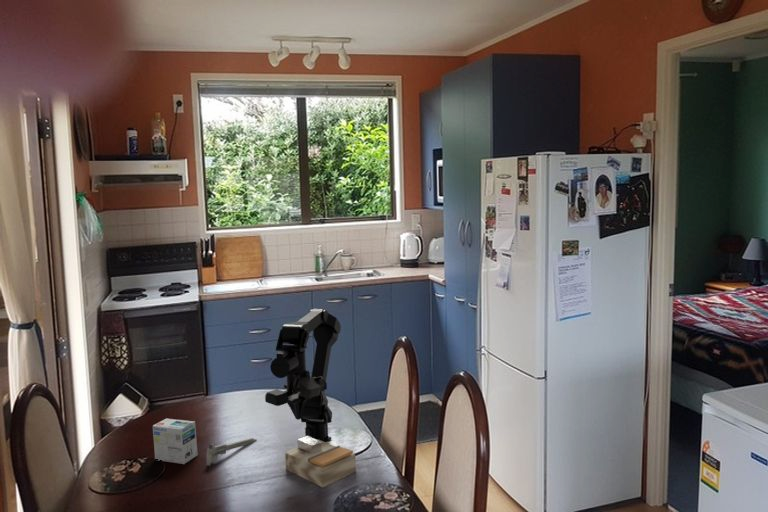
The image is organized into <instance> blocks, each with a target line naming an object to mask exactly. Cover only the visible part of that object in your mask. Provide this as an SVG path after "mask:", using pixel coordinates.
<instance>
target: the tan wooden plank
mask: <svg viewBox="0 0 768 512" xmlns="http://www.w3.org/2000/svg"><path fill="white" fill-rule="evenodd" d="M352 453H353V454H354V450H352V449H348V448H347V447H341V445H337V446H336V447H334V448H332V449H329V450H327V451H325V452H322V453H320V454H318V455H315V456H313V457H310V458H308V462H310V463H313V464H316V465H319V466H322V467H323V466H325V465H327V464H329V463H332V462H334V461H336V460H339V459H341V458H343V457H345V456H348V455H350V454H352Z"/></svg>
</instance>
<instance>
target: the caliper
mask: <svg viewBox="0 0 768 512" xmlns="http://www.w3.org/2000/svg"><path fill="white" fill-rule="evenodd" d="M254 442H257V438H256V439H255V438H254V437H253V438H252V437H250V438H246V439H243V440H242V439H241V440H238V441H234V442H231V443H228V444H226V443H222V444H219V445H216V444H215V443H211V444H210V443H209V444H208V448H207V449H206V454H205V456H206V466H209V467H211V464H212V465H215V464H216V462H217V459H218V456H219V455H225V454H226V453H227V451H230V450H233V449H238V448H241V447H245V446H248V445H252V443H254Z"/></svg>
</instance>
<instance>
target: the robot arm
mask: <svg viewBox="0 0 768 512" xmlns="http://www.w3.org/2000/svg"><path fill="white" fill-rule="evenodd" d="M341 328H342V326H341V323H340V321H339V319H338V318H337V317H336V316H334V315H332V314H331V313H329V312H328V310H327V309H324V308H312V309H310V311H309V312H307V314H306V315H303V317H301V318H300V319H299V320H297V321H293V322H287V323H285V324H283V325H282V326H281V329H280V330H279V334H278V338H277V343H276V346H275V351H277V352H276V355H275V356H276V357H275V358H273V360H271V363H270V366H269V367H270V371H271V373H272V375H273V376H274V377H276V378H278V379H284V378H285V379H286V381H285V382H286V383H285V384H283V389H286V390H281V389H279V388H278V389H277V388H276V389H273V390H270V391H267V392H266V394H265V396H264V399H265V403H268V404H271V405H272V406H276V407H281V406H282V405H285V404H287V405H288V407H289V408H290V411H291V413H292V414H293V416H294V418H295V419H296V420H300V421H301V423H305V429H304V431H305V432H304V433H305V434H304V435H305V436H304V437H306V436H309V437H312V438H314V439H316V440H317V439H319V440H321V441H324V442H326V443H327V442H329V441H330V440H332V437H331V436H329V424H331V423H332V422H333V421H332V419H333V412H332V409H330V407H329V406H328V404H329V401H328V398H327V395H326V393H325V390H328V383H327V376H328V370H329V364H330V363H329V362H330V359H331V350H332V347H333V345H334V344H336V342H337V341H338V339H339V334H341V333H340V332H341ZM311 332H312V336H313V338H314V341H315V343H316V345H315V352H314V359H313V364H312V371H311V373H310V372H309V371H310V370H308V369H307V364H306V349H307V348H308V346H307V343H308V341H309V339H310V333H311ZM310 374H311V375H310Z"/></svg>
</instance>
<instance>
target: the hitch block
mask: <svg viewBox="0 0 768 512" xmlns="http://www.w3.org/2000/svg"><path fill="white" fill-rule="evenodd" d="M317 440H319V439H317ZM319 441H321V440H319ZM321 442H322V450H321V451H319V452H316V453H314V454H310V453H306V452H305V451H304V450H301V449H299V448H298V446H297V447H294V448H293V449H290V450H288V451H286V452H284V453H285V455H284V457H285V459H284V460H285V470H287V471H288V472H291V473H292V474H294V475H297V476H299V477H300V478H303V479H305V480H307V481H309V482H311V483H313V484H315V485H317V486H319V487H321V488H324V487H326V486H328V485H331V484H333V483H336V482H337V481H340V480H342V479H344V478H345V477H348V476H349V475H352V474H354V473H356V469H357V468H356V467H357V466H356V465H357V464H356V454H355V453H354V452H353V453H352V454H350V455H348V456H345V457H343V458H341V459H339V460H336V461H334V462H332V463H329V464H327V465H325V466H323V467H322V466H319V465H316V464H313V463H310V462H308V458H310V457H313V456H315V455H318V454H320V453H322V452H325V451H327V450H329V449H332V448H334V447H337V446H335V445H334V444H331V443H328V442H327V441H326V442H324V441H321Z"/></svg>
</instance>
